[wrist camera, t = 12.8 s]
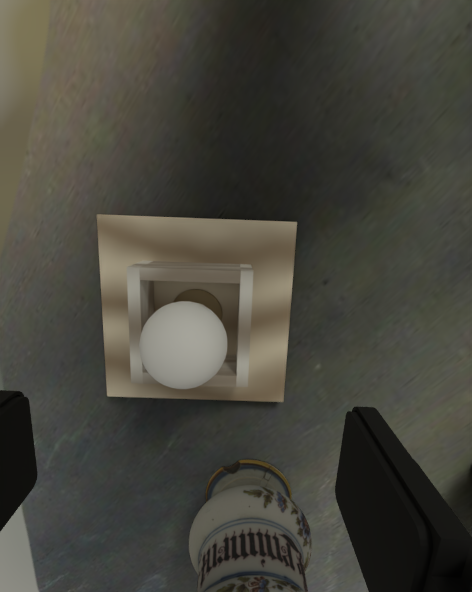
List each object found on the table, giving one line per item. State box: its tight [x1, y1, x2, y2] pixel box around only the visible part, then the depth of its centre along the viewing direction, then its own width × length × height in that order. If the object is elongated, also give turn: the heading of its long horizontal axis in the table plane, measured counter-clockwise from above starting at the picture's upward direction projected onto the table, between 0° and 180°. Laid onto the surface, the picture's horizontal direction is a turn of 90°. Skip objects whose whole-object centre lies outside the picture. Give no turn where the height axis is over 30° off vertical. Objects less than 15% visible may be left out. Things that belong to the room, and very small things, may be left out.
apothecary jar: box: [189, 459, 312, 592], centre depth 28 cm, size 12×12×18 cm
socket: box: [97, 214, 297, 402], centre depth 29 cm, size 18×18×6 cm
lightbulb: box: [139, 301, 227, 389], centre depth 25 cm, size 6×6×11 cm
